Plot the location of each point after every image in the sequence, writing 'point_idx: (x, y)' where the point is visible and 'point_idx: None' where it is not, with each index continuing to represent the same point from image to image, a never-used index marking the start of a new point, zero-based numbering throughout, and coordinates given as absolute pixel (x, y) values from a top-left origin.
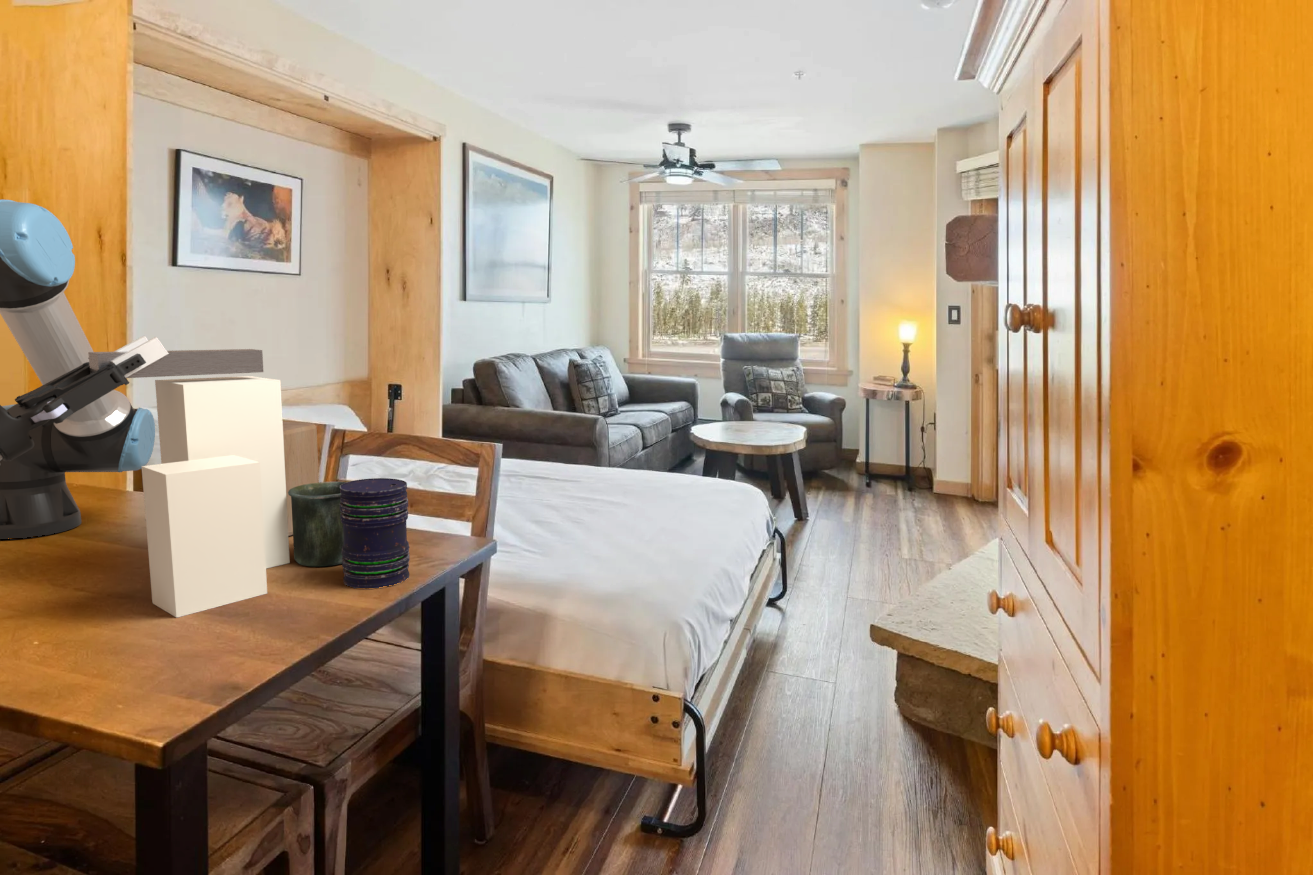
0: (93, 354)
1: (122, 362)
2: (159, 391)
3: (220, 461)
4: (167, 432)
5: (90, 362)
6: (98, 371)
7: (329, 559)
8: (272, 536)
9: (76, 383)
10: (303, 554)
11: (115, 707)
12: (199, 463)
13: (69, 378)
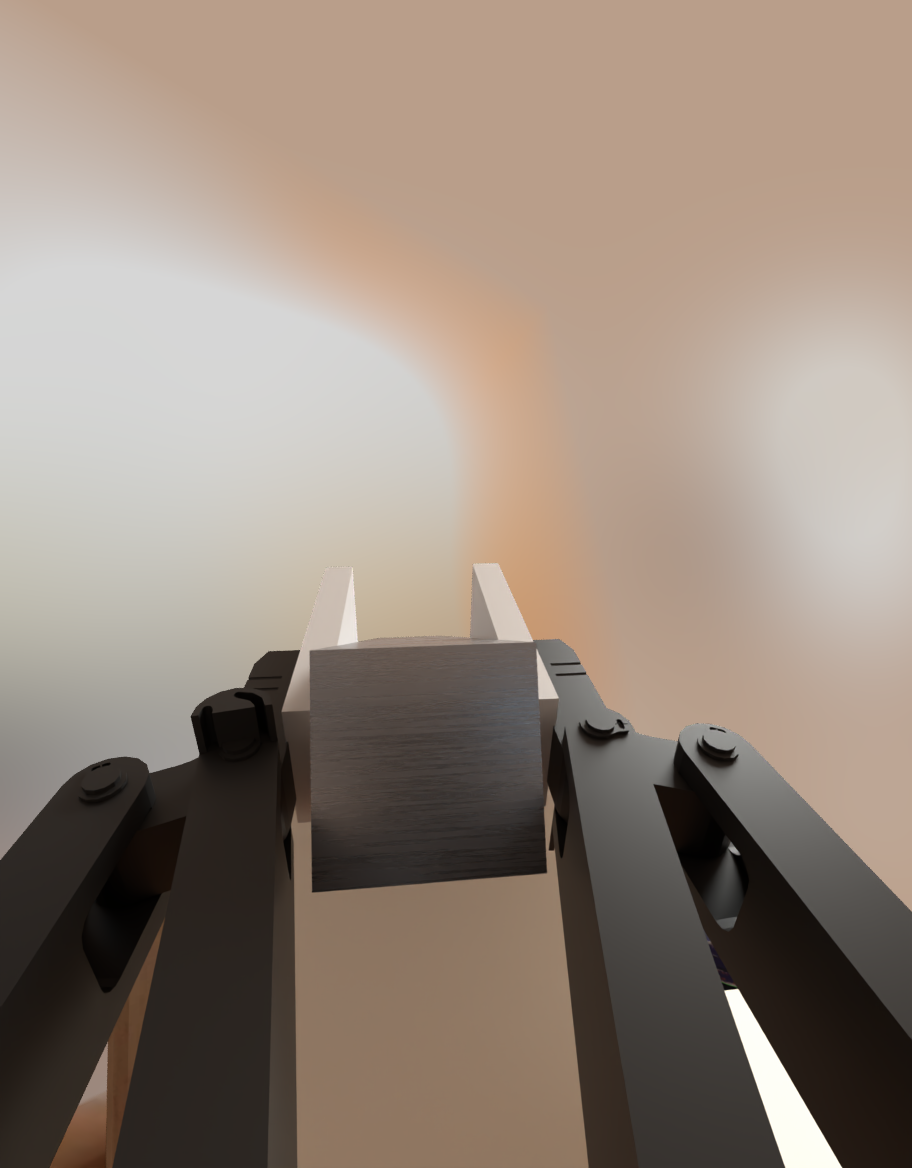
0: (438, 659)
1: (570, 698)
2: (298, 847)
3: (761, 1058)
4: (361, 1052)
5: (339, 743)
6: (636, 797)
7: None
8: None
9: (734, 1033)
10: None
11: None
12: (801, 1128)
13: (266, 1012)
